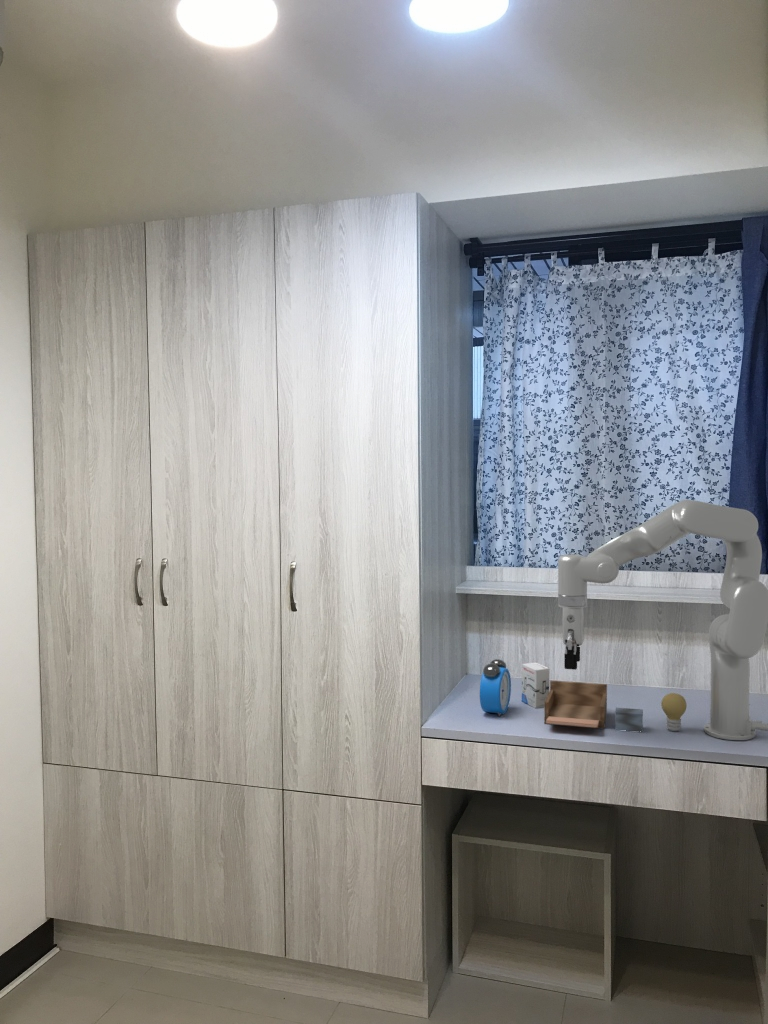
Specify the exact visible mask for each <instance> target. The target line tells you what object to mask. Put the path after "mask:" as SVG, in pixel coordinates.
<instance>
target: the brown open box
mask: <svg viewBox="0 0 768 1024" xmlns="http://www.w3.org/2000/svg"><path fill="white" fill-rule="evenodd" d="M607 703H608V684H607V683H596V682H595V683H594V682H580V681H564V680H563V681H561V680H549V694H548V696H547V698H546V700H545V707H544V717H543V718H544V719H543V721H544V725H550V724H549V723H546V720H547V718H548V717H549V716H551V717H563V718H576V719H588V720H599V724H598V727H587V728H588V729H589V728H591V729H602V730H604V729H605V725H606V719H607V714H608V704H607ZM553 725H554V726H562V725H561V724H553ZM563 726H567V727H574V726H573V725H563ZM577 728H586V727H585V726H577Z"/></svg>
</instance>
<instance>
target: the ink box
mask: <svg viewBox="0 0 768 1024" xmlns="http://www.w3.org/2000/svg"><path fill="white" fill-rule="evenodd" d="M521 665H522V667H521V670H522V671H521V702H522V703H525V704H526V705H529V706H530V707H531V708H534V709H541V708H545V700H546V698H547V696H548V694H549V691H550V668H549V667H547V666H545V665H544V664H542V663H539V662H527V663H522V664H521Z"/></svg>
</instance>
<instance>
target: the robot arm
mask: <svg viewBox="0 0 768 1024" xmlns="http://www.w3.org/2000/svg"><path fill="white" fill-rule="evenodd" d="M758 531H759V522H758V519H757V517H756V516H755V514H754V513H752V512H751V511H749V510H747V509H744V508H737V507H731V506H726V505H725V506H724V505H720V504H713V503H709V502H708V503H707V502H705V501H704V502H703V501H700V500H699V501H698V500H691V499H683V500H680V501H678V502H676V503H673V505H671V506H669V507H667V508H665V509H664V510H663V511H660V512H659V513H658V514H656V515H654V516H653V517H651V518H650V519H648V520H647V521H645V522H643V523H641V524H640V525H638V526H636V527H634V528H632V529H630V530H628V531H626V532H624V533H623V534H621V535H619V536H617V537H615V538H613V539H611V540H609V541H608V542H606V543H605V544H603V545H601V546H599V547H598V548H596V549H595V550H593V551H591V552H590V553H589V554H588V555H587V556H584V555H582V554H563V555H561V556H559V558H558V562H557V564H558V565H557V569H558V570H557V574H558V575H557V577H558V579H557V607H559V608H562V618H561V619H562V642H563V643H562V644H563V645H565V646H564V657H563V658H564V663H563V664H564V669H565V670H578V662H580V660H581V646H582V645H583V643H584V641H585V624H584V623H585V619H584V618H585V617H584V616H585V614H584V609H585V608H587V607H588V583H596V584H602V585H603V584H604V585H606V584H609V583H612V582H613V581H615V580H616V578H617V577H618V576H619V572H620V567H622V566H624V565H625V564H627V563H628V562H632V561H634V560H636V559H640V558H645V557H649V556H653V555H656V554H658V553H660V552H662V551H663V550H664V549H667V548H668V547H669V546H671V545H673V544H675V543H676V542H678V541H679V540H681V539H683V538H685V537H686V536H688V535H690V534H693V535H697V536H702V537H707V538H712V539H716V540H722V541H723V543H724V545H725V549H726V558H725V566H724V571H723V576H722V582H721V585H720V591H719V597H720V600H721V602H722V604H723V605H724V606H726V607H727V608H728V609H729V612H728V613H726V614H721V615H719V616H717V617H716V618H714V619H713V620H712V622H711V623H710V625H709V630H708V642H709V653H710V706H709V707H710V710H709V711H710V713H709V714H710V716H709V717H710V719H709V720H710V721H709V723H706V724H704V726H703V731H704V733H706V734H707V735H709V736H711V737H714V738H718V739H721V740H726V741H727V740H729V741H748V740H752V739H754V738H755V737H756V730H758V731H759V730H760V731H767V732H768V723H767V722H763V721H762V720H753V719H751V716H750V678H751V665H750V658H753V657H754V656H756V655H757V654H758V653H760V650H761V648H762V647H763V644H764V642H765V636H766V632H767V627H768V588H767V586H766V585H765V584H763V582H761V581H760V575H761V566H762V559H763V550H762V548H763V547H762V544H761V541H760V539H759V536H758V534H757V533H758Z"/></svg>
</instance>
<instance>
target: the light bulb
mask: <svg viewBox="0 0 768 1024" xmlns="http://www.w3.org/2000/svg"><path fill="white" fill-rule="evenodd" d="M660 703H661V709H662V711H663V712H664V714H665V715H666V725H665V727H666V729H667V730H668V731H670V732H679V731H681V729H682V719H681V718H682V716H684V714H685V713H686V710H687V702H686V698H685V697H684V696H683V695H681V694H679V693H676V692H671V693H667V694H665V695H664V697H662V700H661V702H660Z"/></svg>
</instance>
